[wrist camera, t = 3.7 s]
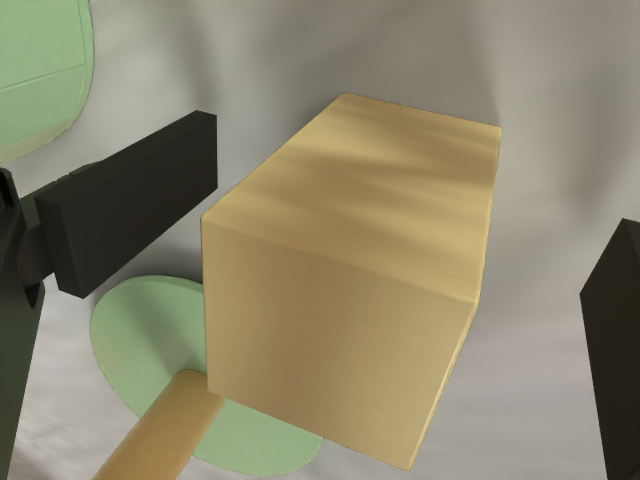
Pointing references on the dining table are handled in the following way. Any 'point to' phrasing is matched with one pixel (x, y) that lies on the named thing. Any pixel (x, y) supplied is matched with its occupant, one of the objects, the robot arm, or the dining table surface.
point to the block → (351, 273)
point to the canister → (42, 71)
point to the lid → (179, 390)
